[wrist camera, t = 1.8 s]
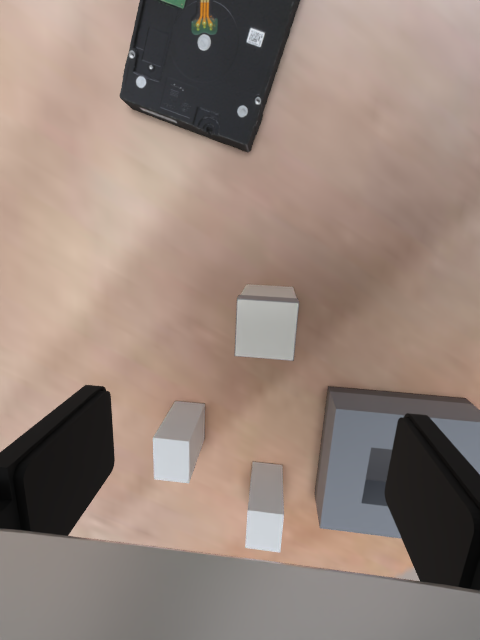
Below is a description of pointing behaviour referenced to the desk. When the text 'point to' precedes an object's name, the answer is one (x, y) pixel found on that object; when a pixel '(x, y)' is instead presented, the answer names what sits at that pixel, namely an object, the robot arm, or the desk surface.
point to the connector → (266, 322)
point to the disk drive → (207, 63)
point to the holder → (377, 452)
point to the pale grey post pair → (180, 459)
